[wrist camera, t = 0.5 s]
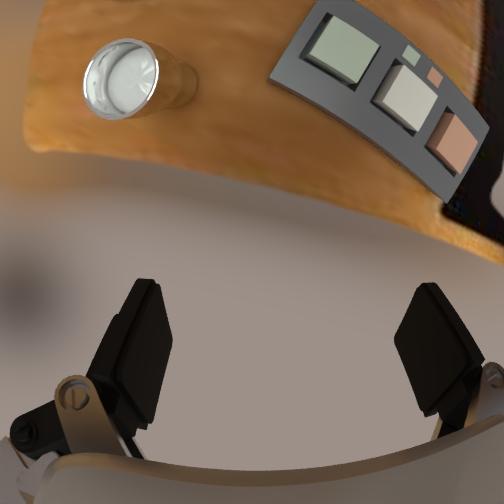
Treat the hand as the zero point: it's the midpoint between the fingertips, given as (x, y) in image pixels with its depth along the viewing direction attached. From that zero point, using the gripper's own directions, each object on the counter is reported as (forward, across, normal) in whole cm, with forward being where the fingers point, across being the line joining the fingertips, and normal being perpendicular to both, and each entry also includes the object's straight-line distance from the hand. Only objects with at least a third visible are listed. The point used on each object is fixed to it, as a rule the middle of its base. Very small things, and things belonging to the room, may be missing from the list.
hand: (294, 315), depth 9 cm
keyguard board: (+27, -15, -10) cm, 33 cm away
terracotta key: (+24, -24, -6) cm, 34 cm away
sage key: (+24, -7, -14) cm, 29 cm away
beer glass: (+27, +11, -9) cm, 31 cm away
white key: (+24, -15, -10) cm, 30 cm away
